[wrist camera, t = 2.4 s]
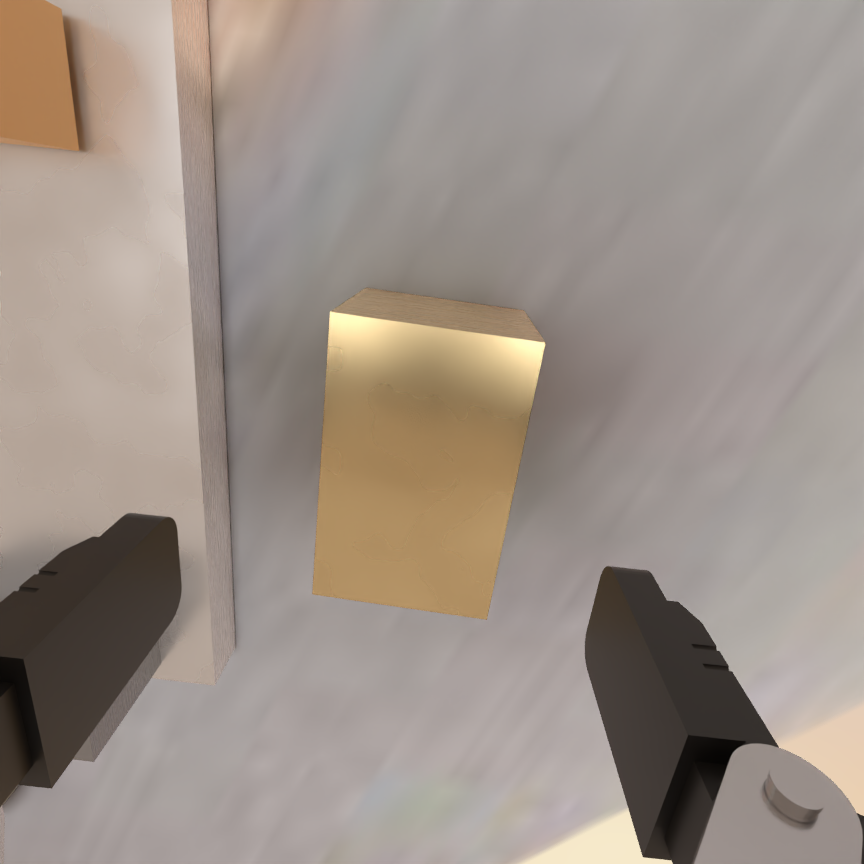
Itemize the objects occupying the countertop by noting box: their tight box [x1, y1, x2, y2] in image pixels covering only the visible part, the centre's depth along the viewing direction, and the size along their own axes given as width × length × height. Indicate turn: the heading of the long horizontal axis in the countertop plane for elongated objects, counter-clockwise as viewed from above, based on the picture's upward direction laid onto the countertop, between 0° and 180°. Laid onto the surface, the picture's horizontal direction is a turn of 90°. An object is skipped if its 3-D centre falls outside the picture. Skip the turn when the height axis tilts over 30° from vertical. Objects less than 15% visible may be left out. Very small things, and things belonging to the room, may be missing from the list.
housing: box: [312, 288, 545, 620], centre depth 16 cm, size 8×5×5 cm, turn 172°
